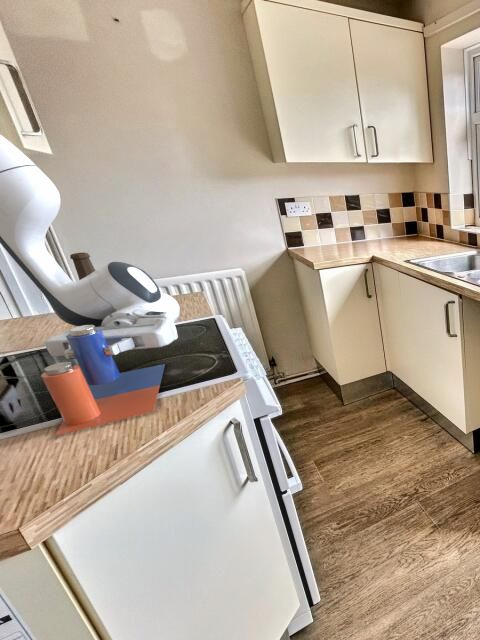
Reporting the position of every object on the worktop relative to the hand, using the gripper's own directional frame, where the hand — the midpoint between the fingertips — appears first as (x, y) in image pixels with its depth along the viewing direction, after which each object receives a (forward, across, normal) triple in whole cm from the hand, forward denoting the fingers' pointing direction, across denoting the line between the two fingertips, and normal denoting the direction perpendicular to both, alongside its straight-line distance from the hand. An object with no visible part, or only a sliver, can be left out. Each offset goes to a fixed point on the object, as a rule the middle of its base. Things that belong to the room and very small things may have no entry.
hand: (89, 353), depth 81 cm
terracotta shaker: (+5, -2, +11) cm, 12 cm away
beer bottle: (-44, -22, +12) cm, 51 cm away
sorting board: (-4, -1, +12) cm, 12 cm away
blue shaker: (-1, 0, +6) cm, 6 cm away
